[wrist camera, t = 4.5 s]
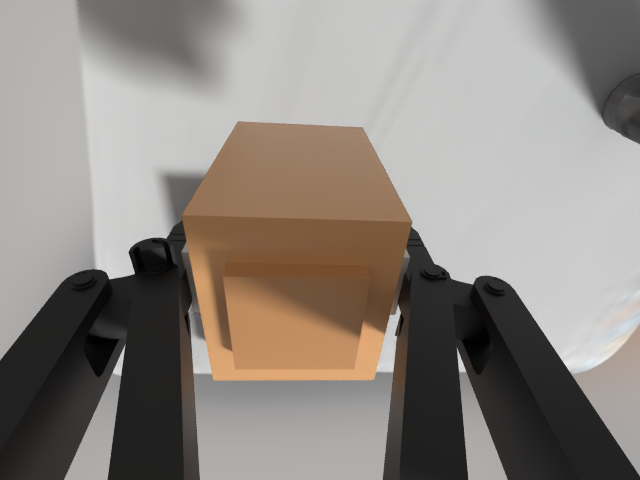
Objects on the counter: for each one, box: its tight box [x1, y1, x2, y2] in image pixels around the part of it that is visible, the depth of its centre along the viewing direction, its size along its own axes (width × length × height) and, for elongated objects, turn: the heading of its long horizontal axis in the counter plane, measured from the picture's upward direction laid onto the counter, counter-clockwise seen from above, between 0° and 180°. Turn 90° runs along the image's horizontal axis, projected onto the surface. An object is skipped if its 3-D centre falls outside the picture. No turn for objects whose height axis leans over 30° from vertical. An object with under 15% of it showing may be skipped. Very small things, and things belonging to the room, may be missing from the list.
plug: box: [182, 122, 412, 380], centre depth 15 cm, size 7×6×12 cm
